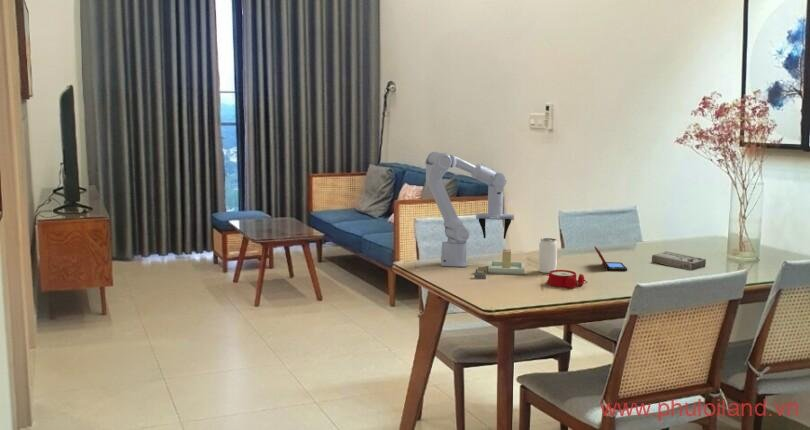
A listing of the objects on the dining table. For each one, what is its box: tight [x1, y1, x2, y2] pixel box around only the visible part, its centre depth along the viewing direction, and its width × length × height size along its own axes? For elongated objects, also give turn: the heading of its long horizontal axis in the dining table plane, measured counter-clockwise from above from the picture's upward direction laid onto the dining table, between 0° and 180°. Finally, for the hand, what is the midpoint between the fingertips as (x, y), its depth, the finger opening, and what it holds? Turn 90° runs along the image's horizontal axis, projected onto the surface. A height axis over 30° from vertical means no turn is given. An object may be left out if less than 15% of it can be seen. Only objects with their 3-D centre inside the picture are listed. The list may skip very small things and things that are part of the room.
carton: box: [501, 248, 512, 268], centre depth 288 cm, size 3×5×7 cm, turn 171°
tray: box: [487, 260, 525, 276], centre depth 288 cm, size 13×13×2 cm
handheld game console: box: [594, 246, 628, 272], centre depth 294 cm, size 12×11×7 cm
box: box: [651, 251, 707, 271], centre depth 300 cm, size 11×17×3 cm, turn 41°
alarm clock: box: [541, 269, 588, 289], centre depth 266 cm, size 10×6×15 cm
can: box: [538, 237, 558, 274], centre depth 286 cm, size 6×6×12 cm
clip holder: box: [473, 266, 488, 280], centre depth 279 cm, size 4×9×2 cm, turn 172°
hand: (494, 238), depth 302 cm, fingers open, 7 cm apart
